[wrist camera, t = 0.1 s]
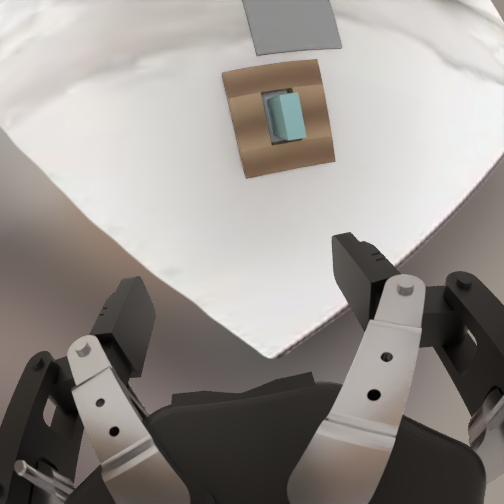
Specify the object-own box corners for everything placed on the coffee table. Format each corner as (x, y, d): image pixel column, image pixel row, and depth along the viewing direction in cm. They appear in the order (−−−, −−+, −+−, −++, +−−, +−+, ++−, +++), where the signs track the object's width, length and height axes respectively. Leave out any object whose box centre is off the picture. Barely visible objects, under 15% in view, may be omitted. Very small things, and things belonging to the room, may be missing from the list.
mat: (238, -15, 26) (238, -16, 25) (321, -19, 26) (322, -21, 25) (256, 55, 31) (257, 54, 31) (340, 48, 31) (342, 47, 30)
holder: (222, 76, 32) (221, 72, 29) (310, 63, 32) (317, 59, 29) (244, 174, 38) (246, 178, 36) (327, 158, 38) (335, 161, 36)
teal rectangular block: (266, 100, 34) (279, 95, 26) (281, 97, 34) (297, 92, 26) (274, 135, 36) (288, 140, 28) (288, 132, 36) (306, 137, 28)
